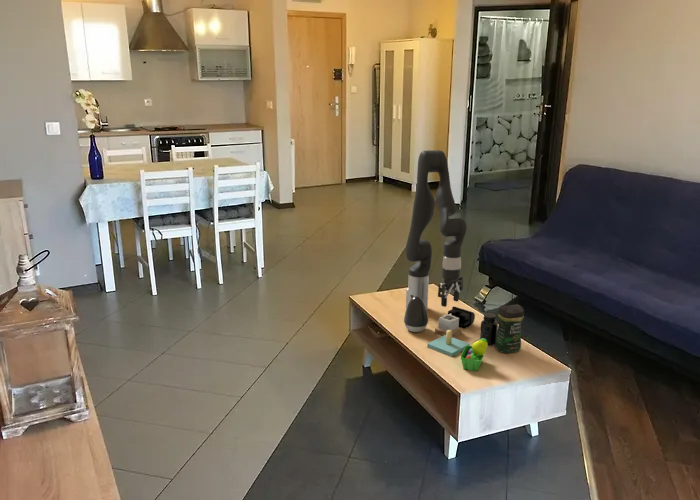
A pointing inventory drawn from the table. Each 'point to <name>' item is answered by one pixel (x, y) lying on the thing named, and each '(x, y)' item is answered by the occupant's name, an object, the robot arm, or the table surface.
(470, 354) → the fruit basket
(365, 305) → the table surface
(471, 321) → the end cap
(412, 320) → the dark grey rounded cone
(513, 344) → the coffee jar
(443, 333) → the stand
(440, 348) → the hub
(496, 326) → the supplement bottle
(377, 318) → the table surface
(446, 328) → the collar
